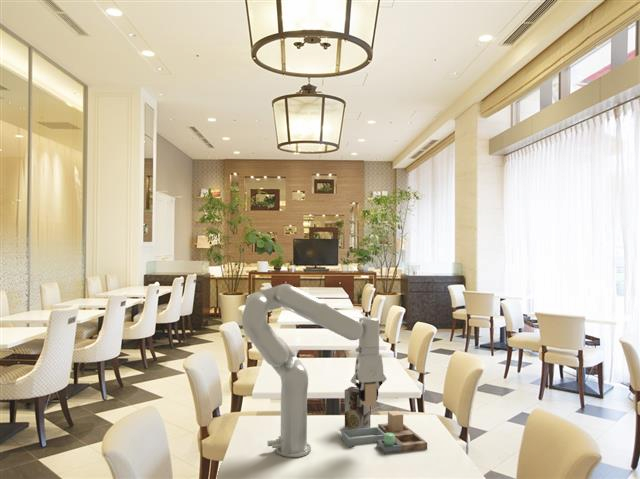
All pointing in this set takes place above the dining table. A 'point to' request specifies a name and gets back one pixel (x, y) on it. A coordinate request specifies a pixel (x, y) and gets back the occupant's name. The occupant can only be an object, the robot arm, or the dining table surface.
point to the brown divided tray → (406, 438)
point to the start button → (389, 439)
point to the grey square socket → (389, 447)
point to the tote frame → (361, 440)
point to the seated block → (395, 421)
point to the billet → (370, 394)
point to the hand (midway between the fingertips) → (368, 399)
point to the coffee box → (355, 410)
